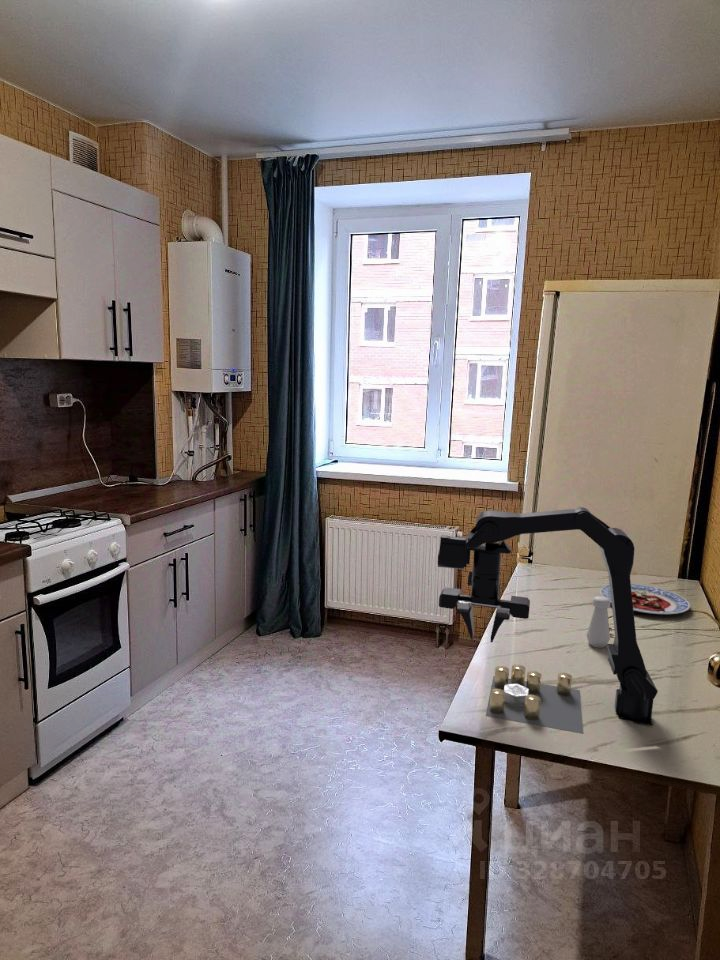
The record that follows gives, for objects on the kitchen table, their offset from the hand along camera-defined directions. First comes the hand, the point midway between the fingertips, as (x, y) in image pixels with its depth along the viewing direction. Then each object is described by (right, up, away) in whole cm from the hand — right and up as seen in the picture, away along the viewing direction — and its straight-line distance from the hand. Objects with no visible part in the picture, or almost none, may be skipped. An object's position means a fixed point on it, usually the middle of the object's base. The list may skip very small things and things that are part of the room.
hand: (481, 640), depth 135 cm
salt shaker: (+37, -9, +30) cm, 48 cm away
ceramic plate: (+63, -5, +62) cm, 88 cm away
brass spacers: (+11, -13, 0) cm, 17 cm away
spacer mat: (+11, -14, -1) cm, 18 cm away
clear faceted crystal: (+7, -13, 0) cm, 15 cm away
